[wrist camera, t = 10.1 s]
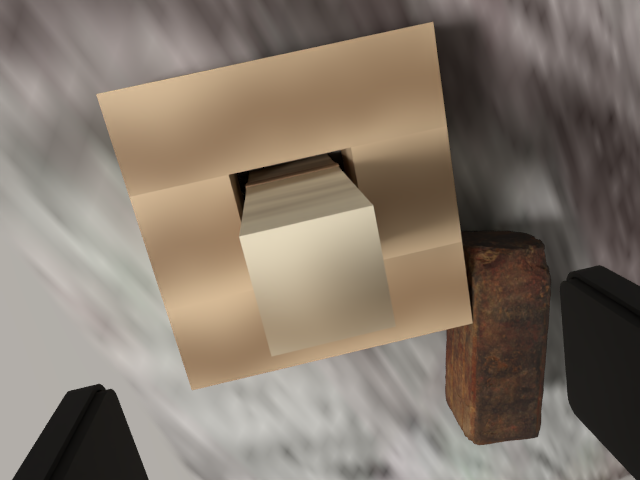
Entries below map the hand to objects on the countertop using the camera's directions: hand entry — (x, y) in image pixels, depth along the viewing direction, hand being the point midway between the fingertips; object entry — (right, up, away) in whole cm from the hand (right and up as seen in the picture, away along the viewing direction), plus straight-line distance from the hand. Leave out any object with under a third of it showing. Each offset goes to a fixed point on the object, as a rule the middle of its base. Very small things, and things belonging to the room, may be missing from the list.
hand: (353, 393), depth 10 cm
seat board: (-2, +5, +17) cm, 18 cm away
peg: (-2, +5, +17) cm, 18 cm away
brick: (+8, -1, +21) cm, 22 cm away
